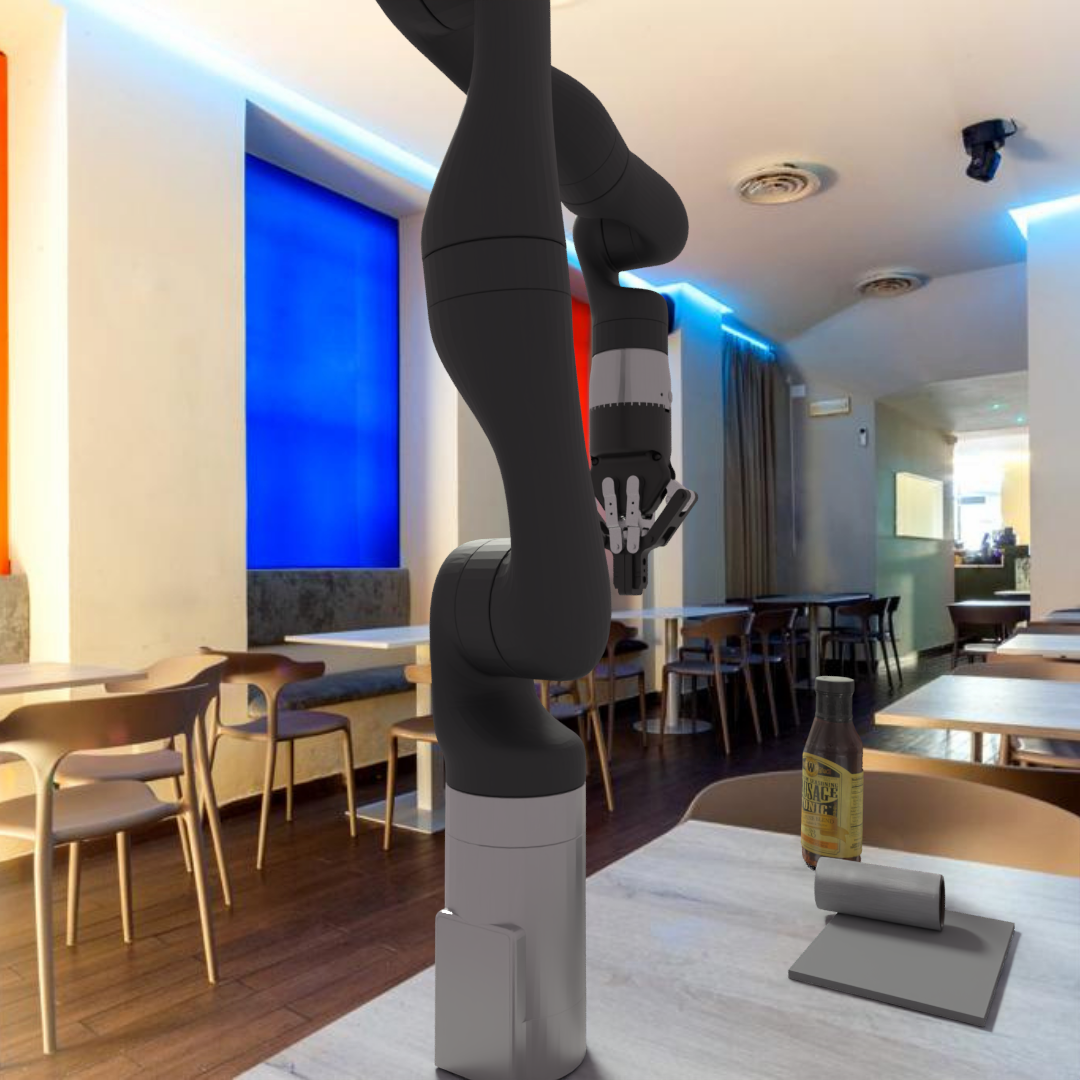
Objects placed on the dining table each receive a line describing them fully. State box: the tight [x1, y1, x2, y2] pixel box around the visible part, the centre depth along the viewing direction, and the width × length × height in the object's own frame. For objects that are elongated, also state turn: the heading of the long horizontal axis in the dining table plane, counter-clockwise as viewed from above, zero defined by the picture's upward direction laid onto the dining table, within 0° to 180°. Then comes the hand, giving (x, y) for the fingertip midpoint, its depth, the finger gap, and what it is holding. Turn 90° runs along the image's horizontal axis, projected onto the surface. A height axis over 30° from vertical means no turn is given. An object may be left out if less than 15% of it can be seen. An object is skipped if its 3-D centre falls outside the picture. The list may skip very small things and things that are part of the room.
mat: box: [787, 909, 1015, 1028], centre depth 73 cm, size 20×14×1 cm
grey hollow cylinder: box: [813, 857, 946, 931], centre depth 78 cm, size 4×4×10 cm
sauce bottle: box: [800, 675, 865, 868], centre depth 95 cm, size 7×6×20 cm
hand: (630, 595), depth 81 cm, fingers closed
